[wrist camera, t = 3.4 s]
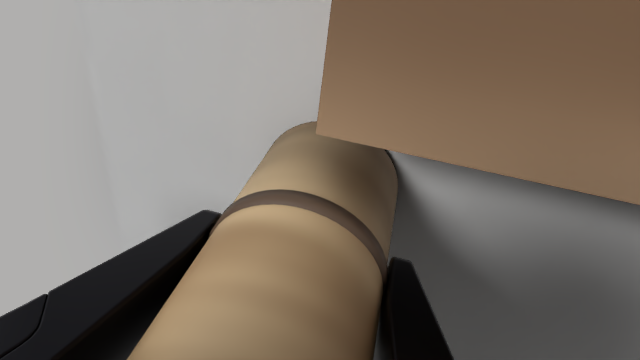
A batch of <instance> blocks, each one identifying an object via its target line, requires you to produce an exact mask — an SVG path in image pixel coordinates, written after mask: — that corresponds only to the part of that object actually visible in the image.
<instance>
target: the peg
mask: <svg viewBox="0 0 640 360" xmlns="http://www.w3.org/2000/svg"><path fill="white" fill-rule="evenodd" d="M316 127H317V121H316V122H308V123H304V124H300V125H298V126H295V127H293V128H291V129H289V130H287V131H286V132H285V133H283V134H282V135H281V136H280V137H279V138H278V139H277V140H276V141H275V142H274V143H273V145H272V146H271V148H270V149H269V151H268V152H267V154H266V155H265V157H264V158H263V160H262V161H261V163H260V164H259V166H258V167H257V168H256V170H255V171H254V173H253V174H252V176H251V177H250V179H249V180H248V182H247V183H246V185H245V186H244V188H243V189H242V191H241V192H240V193H239V195H238V196H237V198H236V199H235V201H234V202H233V203H232V204H231V205H230V206H229V207H228V208H227V209H226V210H225V211H224V213H223V214H222V216H221V217H220V218H219V220H218V221H217V223H216V224H215V226H214V227H213V229H212V230H211V232H210V235H209V237H208V241H207V242H206V244H205V245H204V247H203V248H202V249H201V251H200V252H199V254H198V255H197V257H196V258H195V260H194V261H193V263H192V264H191V266H190V267H189V269H188V270H187V272H186V273H185V275H184V276H183V277H182V279H181V280H180V282H179V283H178V285H177V286H176V288H175V289H174V291H173V292H172V294H171V295H170V297H169V298H168V300H167V301H166V303H165V304H164V305H163V307H162V308H161V310H160V311H159V313H158V314H157V316H156V317H155V319H154V320H153V322H152V323H151V325H150V326H149V328H148V329H147V331H146V332H145V333H144V335H143V336H142V338H141V339H140V341H139V342H138V344H137V345H136V347H135V348H134V350H133V351H132V353H131V354H130V356H129V357H128V358H127V360H373V358H374V351H375V344H376V337H377V330H378V324H379V317H380V310H381V304H382V301H383V298H384V295H385V292H386V285H387V278H388V267H387V262H388V255H389V248H390V241H391V234H392V227H393V221H394V214H395V207H396V200H397V193H398V180H397V175H396V171H395V168H394V166H393V163H392V161H391V159H390V158H389V156H388V155H387V153H386V152H385V151H384V150H383V149H382V148H377V147H373V146H368V145H364V144H359V143H354V142H350V141H345V140H341V139H336V138H332V137H327V136H322V135H318V134H316Z"/></svg>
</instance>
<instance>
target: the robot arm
mask: <svg viewBox="0 0 640 360" xmlns="http://www.w3.org/2000/svg"><path fill="white" fill-rule="evenodd" d="M221 216H222V214H221V213H218V212H214V211H210V210H202V211H200V212H198V213H197V214H195V215H193V216H191V217H189V218H187V219H185V220H183V221H181V222H180V223H178V224H176V225H174V226H172V227H170V228H168V229H166V230H164V231H162V232H161V233H159V234H157V235H155V236H153V237H151V238H149V239H147V240H145V241H144V242H142V243H140V244H138V245H136V246H134V247H132V248H130V249H128V250H127V251H125V252H123V253H121V254H119V255H117V256H115V257H113V258H112V259H110V260H108V261H106V262H104V263H102V264H100V265H98V266H96V267H95V268H93V269H91V270H89V271H87V272H85V273H83V274H81V275H79V276H78V277H76V278H74V279H72V280H70V281H68V282H66V283H64V284H62V285H60V286H58V287H57V288H55V289H53V290H51V291H50V292H49V293H48V295H47V294H43V295H41V296H39V297H37V298H36V299H34V300H32V301H30V302H28V303H26V304H24V305H22V306H20V307H18V308H16V309H14V310H12V311H10V312H8V313H6V314H5V315H3V316H1V317H0V360H127V358H128V357H129V356H130V354H131V353H132V351H133V350H134V348H135V347H136V345H137V344H138V342H139V341H140V339H141V338H142V336H143V335H144V333H145V332H146V331H147V329H148V328H149V326H150V325H151V323H152V322H153V320H154V319H155V317H156V316H157V314H158V313H159V311H160V310H161V308H162V307H163V305H164V304H165V303H166V301H167V300H168V298H169V297H170V295H171V294H172V292H173V291H174V289H175V288H176V286H177V285H178V283H179V282H180V280H181V279H182V277H183V276H184V275H185V273H186V272H187V270H188V269H189V267H190V266H191V264H192V263H193V261H194V260H195V258H196V257H197V255H198V254H199V252H200V251H201V249H202V248H203V247H204V245H205V244H206V242H207V241H208V237H209V235H210V232H211V230H212V229H213V227H214V226H215V224H216V223H217V221H218V220H219V218H220V217H221ZM373 360H454V358H453V356H452V354H451V351H450V349H449V347H448V344H447V342H446V340H445V338H444V335H443V333H442V331H441V328H440V326H439V324H438V321H437V319H436V317H435V315H434V312H433V310H432V308H431V305H430V303H429V301H428V298H427V296H426V294H425V292H424V289H423V287H422V285H421V282H420V280H419V278H418V275H417V273H416V271H415V269H414V266H413V264H412V262H411V261H409V260H405V259H401V258H397V257H392V258H391V260H390V263H389V266H388V278H387V285H386V292H385V295H384V298H383V301H382V304H381V310H380V317H379V324H378V330H377V337H376V344H375V351H374V358H373Z"/></svg>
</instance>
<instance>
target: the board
mask: <svg viewBox="0 0 640 360" xmlns="http://www.w3.org/2000/svg"><path fill="white" fill-rule="evenodd" d="M316 134H318V135H322V136H327V137H332V138H336V139H341V140H345V141H350V142H354V143H359V144H364V145H368V146H373V147H377V148H382V149H386V150H391V151H395V152H400V153H405V154H409V155H414V156H418V157H423V158H427V159H432V160H437V161H441V162H446V163H450V164H455V165H459V166H464V167H469V168H473V169H478V170H482V171H487V172H491V173H496V174H501V175H505V176H510V177H514V178H519V179H523V180H528V181H533V182H537V183H542V184H546V185H551V186H555V187H560V188H564V189H569V190H574V191H578V192H583V193H587V194H592V195H596V196H601V197H606V198H610V199H615V200H619V201H624V202H628V203H633V204H638V205H640V0H332V4H331V12H330V20H329V28H328V37H327V45H326V53H325V61H324V70H323V78H322V86H321V94H320V103H319V111H318V119H317V127H316Z"/></svg>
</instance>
